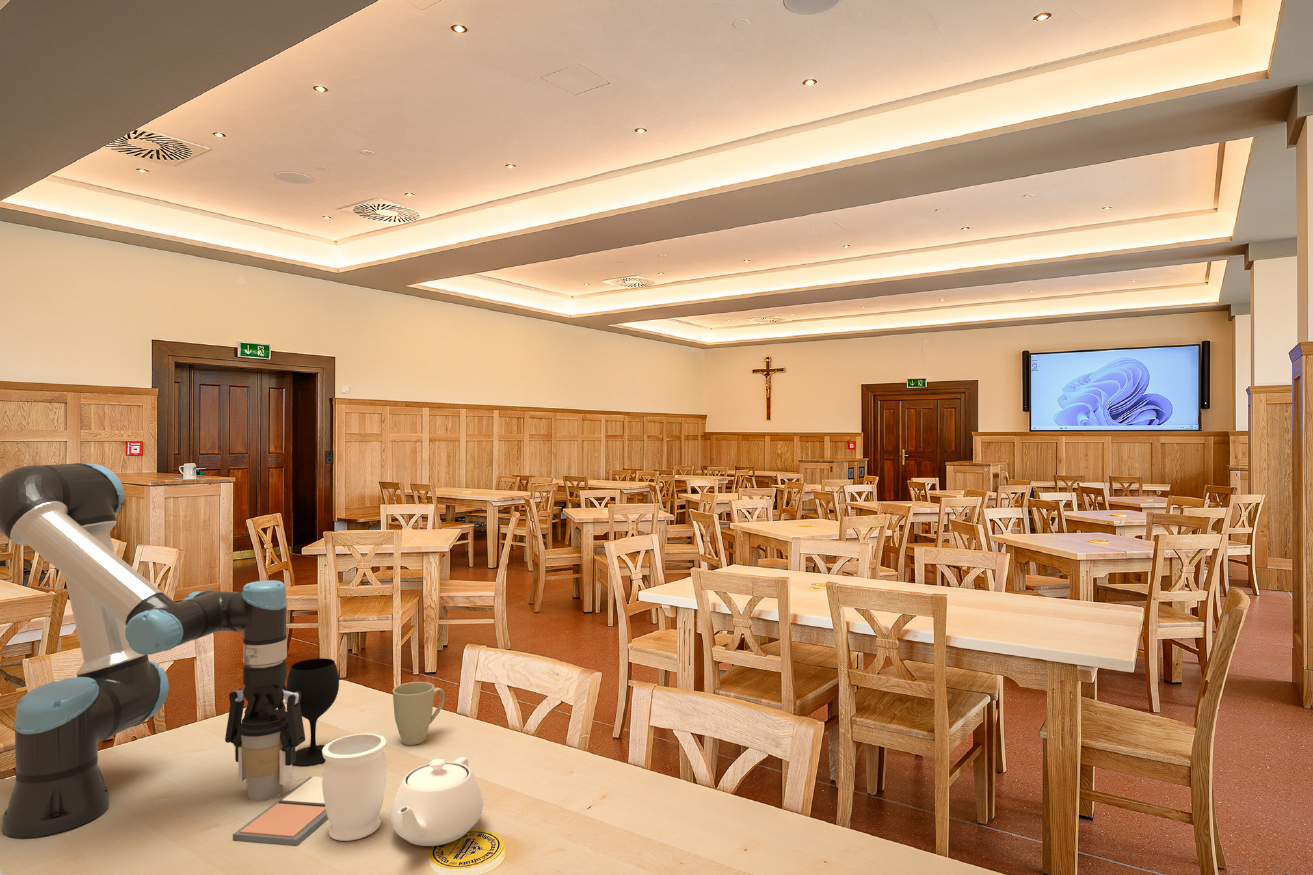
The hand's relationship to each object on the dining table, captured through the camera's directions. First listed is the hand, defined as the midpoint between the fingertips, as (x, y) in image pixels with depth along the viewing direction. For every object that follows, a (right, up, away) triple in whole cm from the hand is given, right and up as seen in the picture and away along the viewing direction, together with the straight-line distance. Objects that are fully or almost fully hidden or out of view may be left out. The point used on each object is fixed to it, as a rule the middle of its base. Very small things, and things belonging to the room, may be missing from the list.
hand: (265, 779), depth 145 cm
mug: (+21, -3, +26) cm, 34 cm away
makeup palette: (+11, -3, -7) cm, 13 cm away
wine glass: (+1, -3, +17) cm, 17 cm away
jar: (+23, -3, -13) cm, 26 cm away
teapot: (+37, -3, -14) cm, 40 cm away
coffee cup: (0, -3, 0) cm, 3 cm away
